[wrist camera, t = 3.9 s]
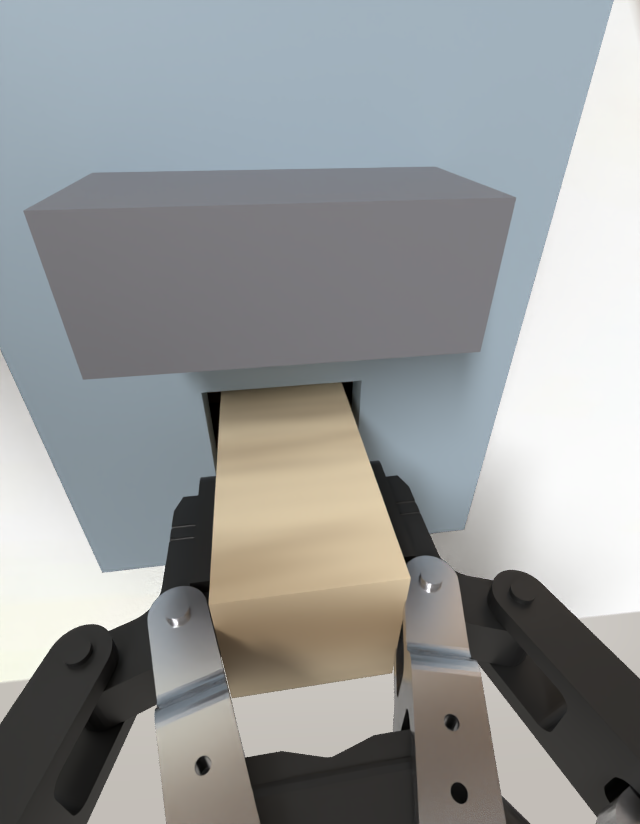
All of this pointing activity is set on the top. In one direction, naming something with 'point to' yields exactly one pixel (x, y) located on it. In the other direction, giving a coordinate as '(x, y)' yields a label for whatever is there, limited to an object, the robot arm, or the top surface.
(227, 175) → the lid
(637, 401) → the top surface
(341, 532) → the beech key
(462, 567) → the top surface
